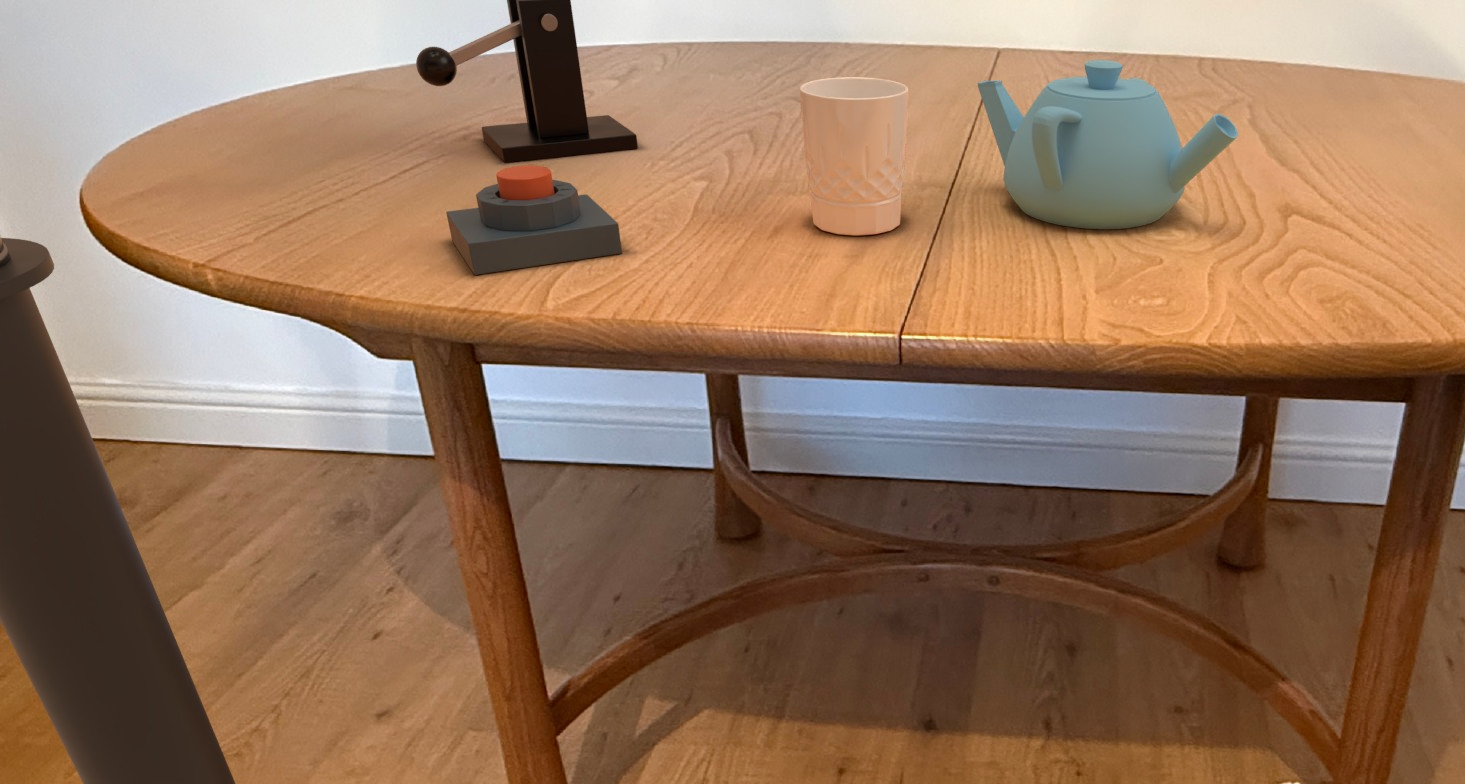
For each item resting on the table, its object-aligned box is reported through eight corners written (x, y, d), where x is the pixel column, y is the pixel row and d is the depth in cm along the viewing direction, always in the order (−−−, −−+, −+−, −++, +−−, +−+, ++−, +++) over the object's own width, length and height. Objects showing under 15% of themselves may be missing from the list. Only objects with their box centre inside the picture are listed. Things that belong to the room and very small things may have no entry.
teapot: (1042, 248, 84) (1053, 88, 78) (971, 186, 98) (975, 46, 92) (1229, 234, 88) (1253, 81, 82) (1135, 176, 102) (1149, 42, 96)
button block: (474, 275, 76) (462, 216, 74) (452, 241, 82) (440, 185, 80) (622, 253, 81) (615, 197, 79) (591, 222, 86) (583, 169, 84)
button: (507, 207, 77) (502, 181, 76) (495, 193, 80) (491, 168, 79) (560, 200, 79) (556, 175, 78) (547, 187, 82) (543, 162, 81)
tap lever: (433, 95, 98) (411, 59, 96) (426, 88, 100) (405, 53, 98) (568, 31, 101) (550, -5, 99) (559, 26, 103) (541, -10, 101)
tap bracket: (504, 163, 101) (476, 5, 94) (483, 140, 107) (455, -8, 101) (638, 148, 106) (620, -1, 99) (610, 128, 113) (592, -14, 106)
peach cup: (835, 203, 92) (831, 73, 87) (924, 216, 90) (925, 83, 85) (786, 229, 86) (779, 91, 81) (881, 244, 84) (879, 102, 78)
